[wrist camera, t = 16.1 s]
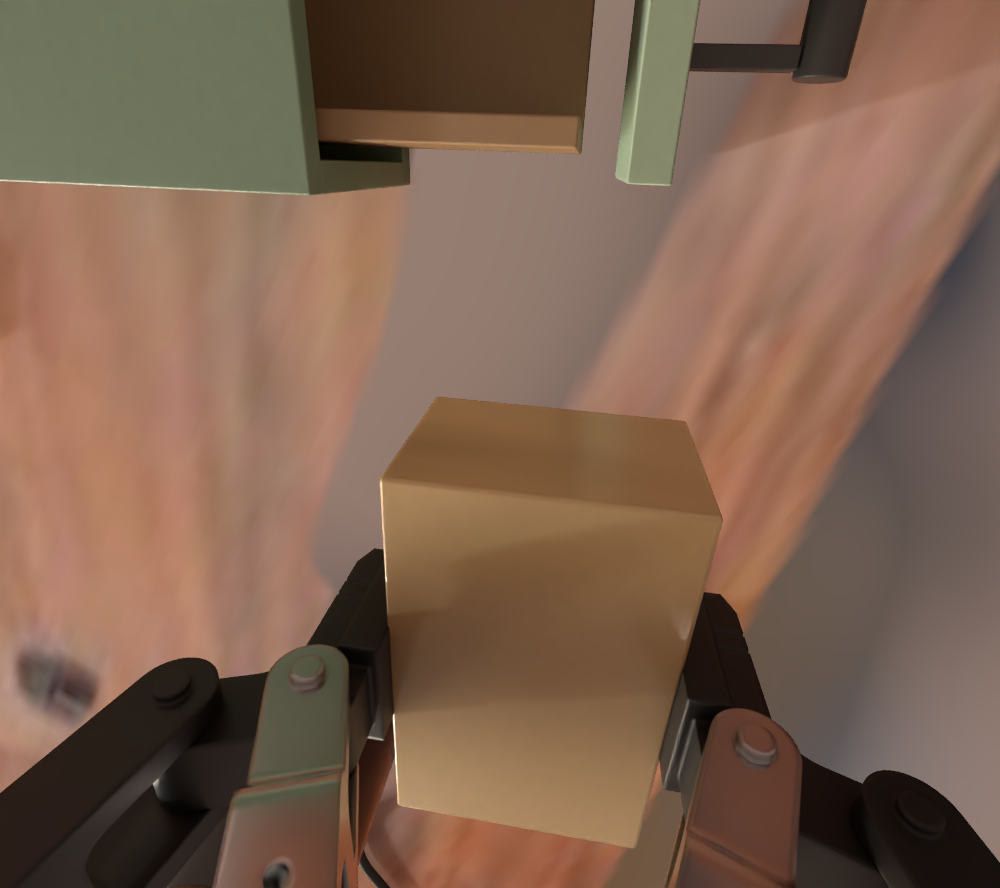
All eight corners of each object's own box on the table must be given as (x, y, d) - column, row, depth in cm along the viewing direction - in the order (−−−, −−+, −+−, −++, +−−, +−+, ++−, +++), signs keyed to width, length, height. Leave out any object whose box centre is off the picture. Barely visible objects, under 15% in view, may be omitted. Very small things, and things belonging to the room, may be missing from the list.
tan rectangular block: (626, 704, 14) (636, 850, 11) (437, 674, 15) (396, 806, 12) (687, 419, 11) (725, 519, 8) (435, 395, 11) (377, 478, 8)
